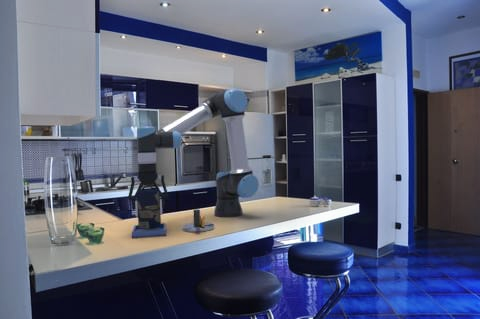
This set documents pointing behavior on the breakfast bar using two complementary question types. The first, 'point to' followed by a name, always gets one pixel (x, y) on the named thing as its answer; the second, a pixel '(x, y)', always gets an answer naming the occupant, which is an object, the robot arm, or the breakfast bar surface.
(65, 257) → the breakfast bar surface
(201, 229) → the crank base
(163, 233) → the tray
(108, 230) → the breakfast bar surface
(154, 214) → the canister
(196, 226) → the crank
